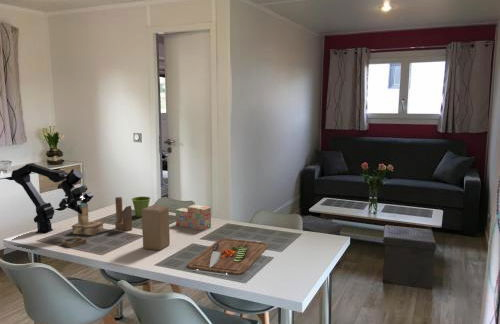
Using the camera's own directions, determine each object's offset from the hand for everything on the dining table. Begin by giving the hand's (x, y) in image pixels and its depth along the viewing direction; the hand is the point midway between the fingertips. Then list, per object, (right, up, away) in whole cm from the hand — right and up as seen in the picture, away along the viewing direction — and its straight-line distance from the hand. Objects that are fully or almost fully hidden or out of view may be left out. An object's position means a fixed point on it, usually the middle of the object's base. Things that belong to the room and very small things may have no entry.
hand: (84, 212), depth 223 cm
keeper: (-2, -15, -10) cm, 18 cm away
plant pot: (+19, -7, +44) cm, 48 cm away
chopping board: (+79, -17, -28) cm, 86 cm away
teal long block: (-1, -6, +2) cm, 7 cm away
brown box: (-2, -12, +10) cm, 16 cm away
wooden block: (+42, -15, -15) cm, 47 cm away
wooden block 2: (+16, -11, +15) cm, 25 cm away
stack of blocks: (+55, -11, +20) cm, 60 cm away
